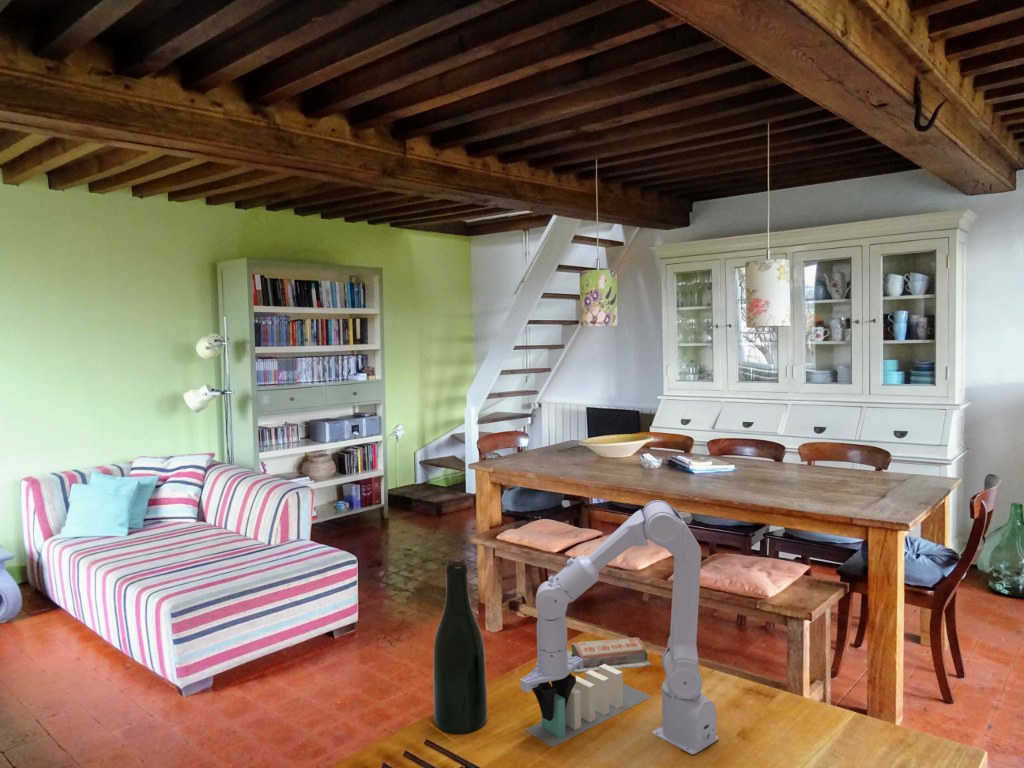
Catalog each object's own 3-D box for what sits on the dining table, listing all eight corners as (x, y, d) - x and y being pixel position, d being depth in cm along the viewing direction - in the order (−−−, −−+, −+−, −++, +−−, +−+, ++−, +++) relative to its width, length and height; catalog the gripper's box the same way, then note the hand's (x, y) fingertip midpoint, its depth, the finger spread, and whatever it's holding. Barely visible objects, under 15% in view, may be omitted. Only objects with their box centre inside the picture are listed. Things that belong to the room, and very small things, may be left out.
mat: (651, 698, 154) (651, 696, 154) (552, 749, 136) (552, 746, 136) (622, 684, 160) (622, 683, 160) (524, 731, 142) (524, 729, 142)
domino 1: (548, 723, 144) (547, 688, 144) (565, 734, 140) (564, 698, 140) (541, 726, 143) (541, 691, 143) (559, 737, 139) (558, 701, 139)
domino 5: (604, 696, 154) (604, 663, 154) (622, 705, 150) (622, 672, 150) (599, 699, 153) (598, 666, 153) (617, 708, 149) (617, 674, 149)
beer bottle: (498, 722, 146) (494, 557, 143) (455, 743, 139) (450, 570, 136) (465, 703, 154) (461, 546, 151) (423, 721, 147) (418, 557, 144)
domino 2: (562, 716, 147) (562, 682, 146) (581, 726, 143) (580, 691, 142) (557, 719, 146) (556, 684, 145) (575, 729, 142) (574, 694, 141)
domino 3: (577, 709, 149) (576, 675, 149) (595, 719, 145) (594, 684, 145) (571, 712, 148) (571, 678, 148) (589, 722, 144) (589, 687, 144)
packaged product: (637, 631, 177) (651, 648, 168) (637, 651, 178) (651, 669, 168) (563, 637, 175) (573, 655, 165) (564, 657, 175) (574, 677, 165)
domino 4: (591, 703, 152) (590, 669, 151) (609, 712, 148) (609, 678, 147) (585, 705, 151) (585, 672, 150) (603, 715, 147) (603, 680, 146)
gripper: (565, 629, 148) (566, 695, 149) (509, 650, 139) (510, 720, 140) (590, 640, 143) (591, 708, 144) (534, 663, 133) (535, 735, 134)
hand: (553, 715), depth 141 cm, fingers open, 3 cm apart
